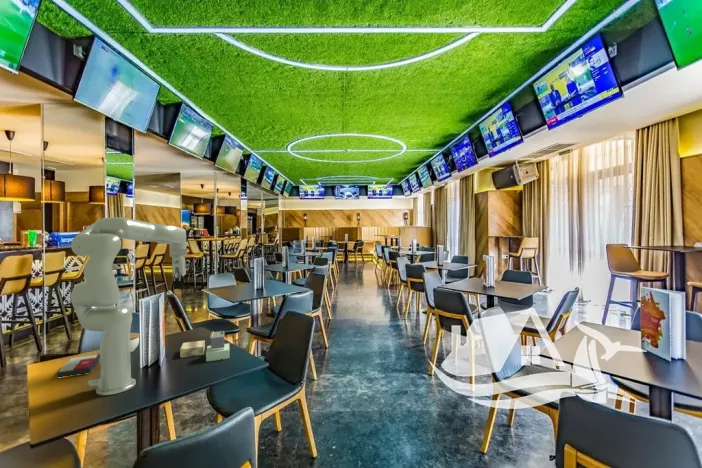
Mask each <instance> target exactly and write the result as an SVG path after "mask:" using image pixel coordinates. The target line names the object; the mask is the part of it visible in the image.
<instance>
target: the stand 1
mask: <svg viewBox="0 0 702 468" xmlns="http://www.w3.org/2000/svg"><path fill="white" fill-rule="evenodd" d="M205 344H206V341H205V339H204V340H197V341H187V342H183V343H182V345H181V347H180V349H179V353H180V355H179V356H180V358H181V359H182V358H183V359H184V358H189V357H197V356H203V355H204V353H205V348H206V345H205Z"/></svg>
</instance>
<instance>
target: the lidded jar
mask: <svg viewBox="0 0 702 468" xmlns="http://www.w3.org/2000/svg"><path fill="white" fill-rule="evenodd" d="M139 344H140V333H138V332H130V353H132V352H134V351H135V350H136V349H137V347H138V346H139Z"/></svg>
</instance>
